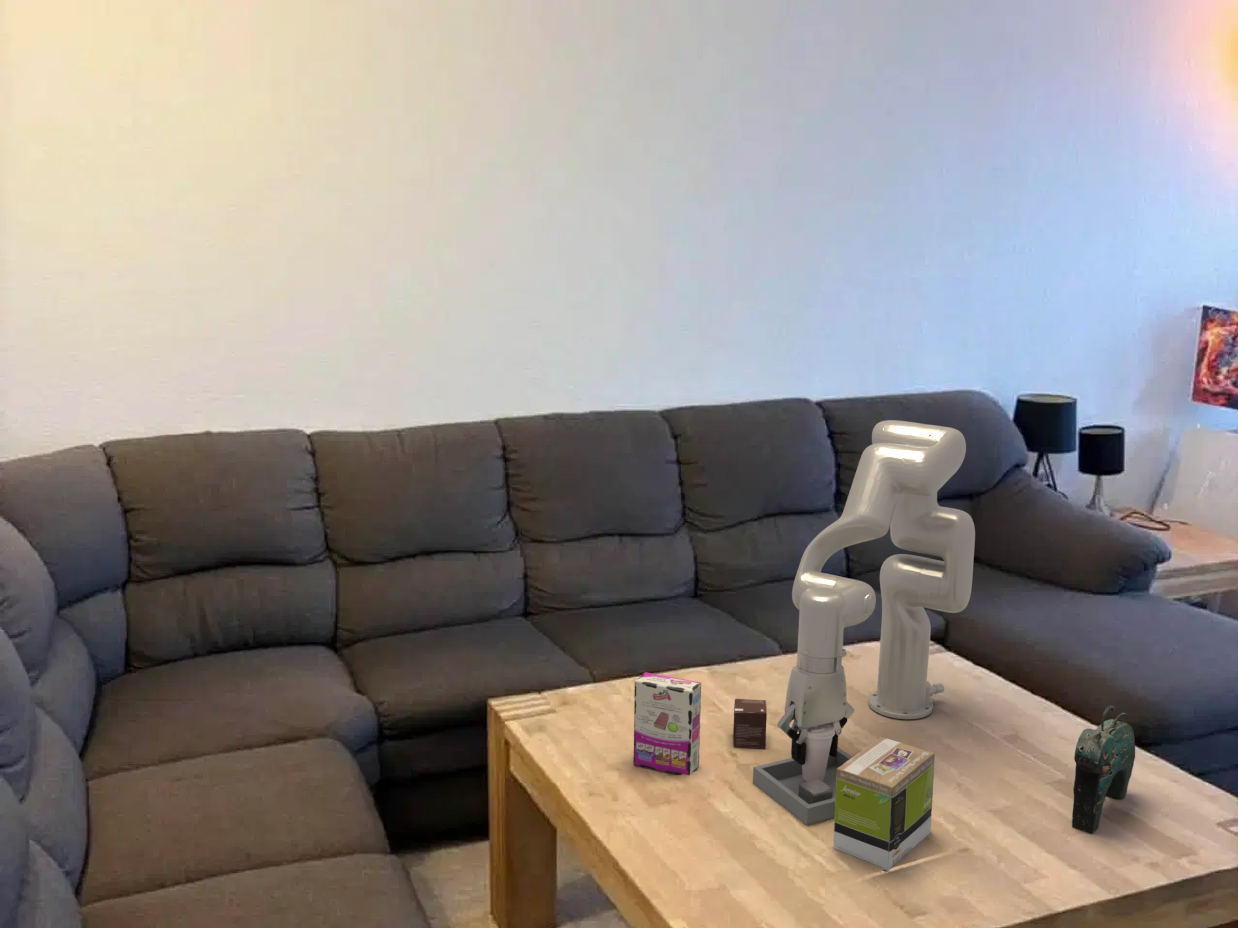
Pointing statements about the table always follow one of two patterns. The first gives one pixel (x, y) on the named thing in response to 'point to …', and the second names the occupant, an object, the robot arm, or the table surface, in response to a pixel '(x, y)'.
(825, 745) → the smoothie
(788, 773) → the tray
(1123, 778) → the green animal figurine
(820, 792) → the metal block
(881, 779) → the tea box
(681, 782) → the table surface
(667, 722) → the candy bar box
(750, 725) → the box
